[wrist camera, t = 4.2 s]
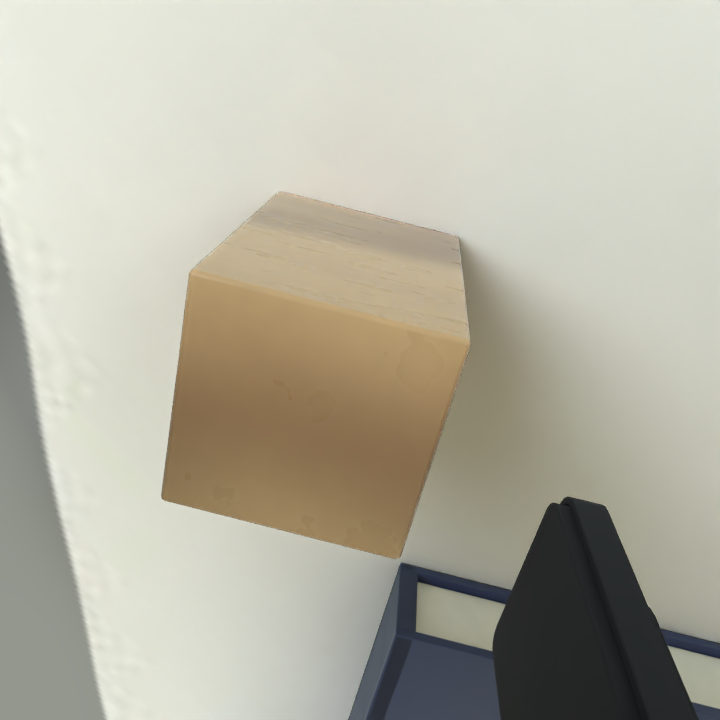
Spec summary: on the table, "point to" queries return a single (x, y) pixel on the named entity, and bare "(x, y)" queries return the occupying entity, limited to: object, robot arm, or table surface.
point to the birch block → (317, 373)
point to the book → (473, 654)
